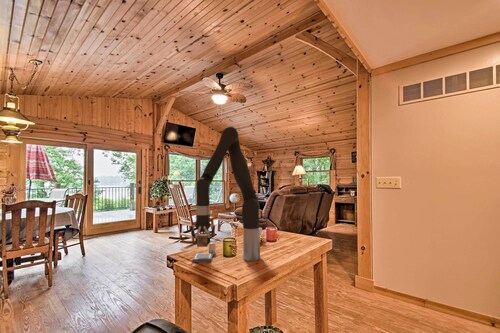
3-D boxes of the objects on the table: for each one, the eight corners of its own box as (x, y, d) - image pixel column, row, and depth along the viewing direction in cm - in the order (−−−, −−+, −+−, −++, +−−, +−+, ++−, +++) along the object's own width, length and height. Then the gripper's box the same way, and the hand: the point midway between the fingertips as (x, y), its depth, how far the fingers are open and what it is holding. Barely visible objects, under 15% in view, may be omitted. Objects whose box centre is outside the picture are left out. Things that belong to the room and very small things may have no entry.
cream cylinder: (215, 252, 147) (215, 242, 148) (215, 254, 143) (215, 244, 144) (209, 252, 147) (209, 242, 147) (208, 254, 143) (208, 244, 143)
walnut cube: (208, 243, 139) (208, 234, 140) (207, 246, 134) (207, 236, 134) (198, 243, 139) (198, 234, 139) (196, 246, 134) (197, 236, 134)
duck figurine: (251, 247, 164) (258, 235, 159) (245, 238, 169) (252, 227, 164) (264, 243, 172) (271, 232, 167) (258, 235, 177) (265, 224, 172)
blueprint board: (213, 255, 141) (213, 252, 141) (210, 261, 131) (210, 258, 131) (195, 255, 141) (195, 253, 141) (192, 262, 131) (192, 259, 131)
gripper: (216, 212, 141) (216, 241, 141) (191, 212, 140) (191, 242, 140) (215, 214, 133) (214, 245, 133) (188, 214, 133) (188, 246, 132)
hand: (202, 243), depth 137 cm, fingers closed on walnut cube, 5 cm apart
